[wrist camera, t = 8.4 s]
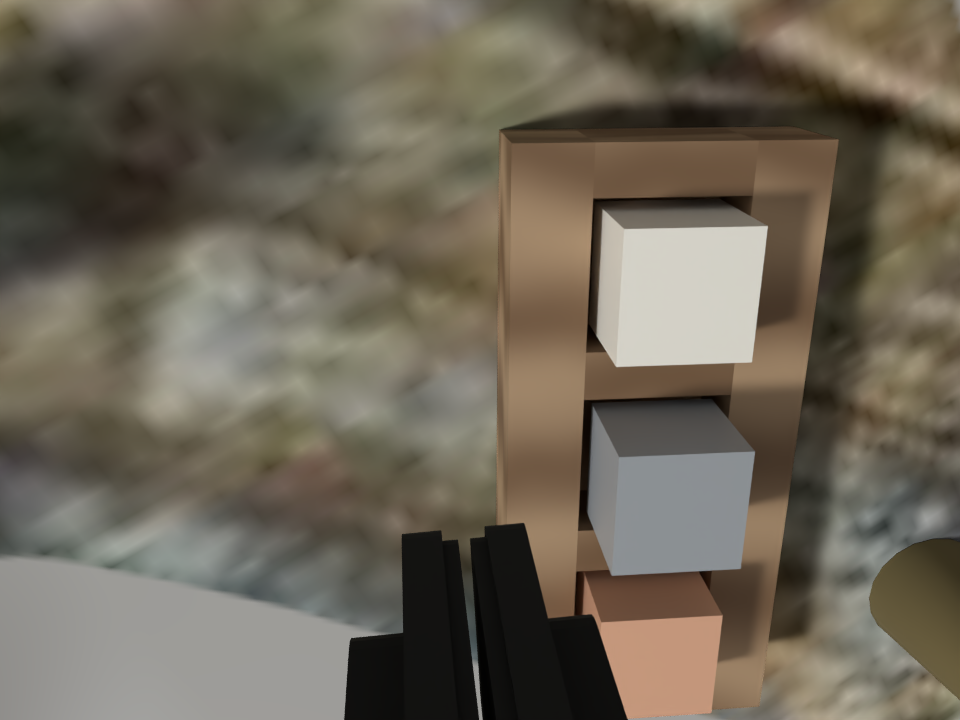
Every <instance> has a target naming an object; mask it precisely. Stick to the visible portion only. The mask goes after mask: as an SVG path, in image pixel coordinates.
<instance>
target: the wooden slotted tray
mask: <svg viewBox="0 0 960 720" xmlns="http://www.w3.org/2000/svg"><path fill="white" fill-rule="evenodd" d="M838 143H839V139H836V138H832V137H829V136H825V135H822V134H818V133H815V132H811V131H808V130H804V129H801V128H797V127H794V126H793V127H701V128H609V129H517V130H499V240H498V368H497V497H496V525H505V524H515V523H524V524H525V527H526V530H527V534H528V538H529V543H530V547H531V551H532V555H533V559H534V563H535V567H536V571H537V575H538V579H539V583H540V587H541V591H542V595H543V599H544V603H545V607H546V611H547V616H548V618H557V617H567V616H576V596H577V574H578V571H596V570H609V567H608V565H607V562H606V560H605V557H604V555H603V552H602V549H601V547H600V544H599V542H598V539H597V537H596V534H595V531H594V529H593V526H592V524H591V521H590V519H589V516H588V513H587V511H586V507H587V486H588V466H589V445H590V425H591V405H592V403H607V402H634V401H661V400H688V399H712V400H713V401H714V402H715V404H716V405H717V406H718V407H719V408H720V410H721V411H722V412H723V413H724V415H725V416H726V417H727V418H728V419H729V421H730V422H731V423H732V424H733V425H734V427H735V428H736V429H737V430H738V431H739V433H740V434H741V435H742V436H743V438H744V439H745V440H746V441H747V442H748V444H749V445H750V446H751V447H752V448H753V450H754V451H755V456H754V464H753V472H752V480H751V488H750V497H749V505H748V513H747V521H746V529H745V537H744V545H743V554H742V562H741V569H730V570H711V571H699V573H700V575H701V577H702V579H703V580H704V582H705V584H706V586H707V588H708V590H709V591H710V593H711V595H712V597H713V599H714V600H715V602H716V604H717V606H718V608H719V610H720V611H721V613H722V615H723V617H722V626H721V634H720V643H719V651H718V660H717V668H716V677H715V685H714V694H713V703H712V710H714V709H729V708H744V707H759V704H760V697H761V690H762V683H763V676H764V669H765V662H766V654H767V647H768V640H769V633H770V626H771V619H772V612H773V605H774V598H775V590H776V583H777V576H778V569H779V562H780V555H781V548H782V541H783V534H784V527H785V519H786V512H787V505H788V498H789V491H790V484H791V477H792V470H793V463H794V455H795V448H796V441H797V434H798V427H799V420H800V413H801V406H802V399H803V391H804V384H805V377H806V370H807V363H808V356H809V349H810V342H811V335H812V328H813V320H814V313H815V306H816V299H817V292H818V285H819V278H820V271H821V264H822V256H823V249H824V242H825V235H826V228H827V221H828V214H829V207H830V200H831V192H832V185H833V178H834V171H835V164H836V157H837V150H838ZM697 199H721V200H723V201H725V202H726V203H728V204H730V205H732V206H733V207H735V208H737V209H739V210H740V211H742V212H744V213H746V214H747V215H749V216H751V217H753V218H754V219H756V220H758V221H760V222H761V223H763V224H765V225H767V226H768V229H767V238H766V247H765V255H764V264H763V272H762V281H761V289H760V298H759V306H758V315H757V324H756V332H755V341H754V349H753V358H752V362H750V363H720V364H690V365H661V366H631V367H616V366H615V364H614V363H613V361H612V360H611V358H610V356H609V355H608V353H607V352H606V350H605V349H604V347H603V345H602V344H601V342H600V341H599V339H598V337H597V336H596V334H595V333H594V331H593V329H592V328H591V326H590V325H589V311H590V289H591V268H592V246H593V224H594V203H595V201H640V200H697Z"/></svg>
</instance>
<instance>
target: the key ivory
mask: <svg viewBox="0 0 960 720" xmlns="http://www.w3.org/2000/svg"><path fill="white" fill-rule="evenodd" d="M767 229H768V226H767V225H765V224H763V223H761V222H760V221H758V220H756V219H754V218H753V217H751V216H749V215H747V214H746V213H744V212H742V211H740V210H739V209H737V208H735V207H733V206H732V205H730V204H728V203H726V202H725V201H723V200H721V199H697V200H640V201H595V203H594V224H593V246H592V268H591V289H590V311H589V325H590V326H591V328H592V329H593V331H594V333H595V334H596V336H597V337H598V339H599V341H600V342H601V344H602V345H603V347H604V349H605V350H606V352H607V353H608V355H609V356H610V358H611V360H612V361H613V363H614V364H615V366H616V367H631V366H661V365H690V364H720V363H750V362H752V358H753V349H754V341H755V332H756V324H757V315H758V306H759V298H760V289H761V281H762V272H763V264H764V255H765V247H766V238H767Z"/></svg>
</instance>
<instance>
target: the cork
mask: <svg viewBox="0 0 960 720" xmlns="http://www.w3.org/2000/svg"><path fill="white" fill-rule="evenodd" d="M869 600H870V609H871V614H872V615H873V617H874V619H875V621H876V623H877V624H878V626H880V627H881V628H882V629H883V630H884V631H885V632H886V633H887V634H888V635H889V636H890V637H892V638H893V639H894V640H895V641H896V642H897V643H898V644H899V645H900V646H901V647H902V648H904V649H905V650H906V651H907V652H908V653H909V654H910V655H911V656H912V657H913V658H914V659H916V660H917V661H918V662H919V663H920V664H921V665H922V666H923V667H924V668H925V669H926V670H928V671H929V672H930V673H931V674H932V675H933V676H934V677H935V678H936V679H937V680H938V681H940V682H941V683H942V684H943V685H944V686H945V687H946V688H947V689H948V690H949V691H950V692H952V693H953V694H954V695H955V696H956V697H957V698H958V699H959V700H960V542H957V541H954V540H951V539H931V540H927V541H923V542H920V543H916V544H913V545H911V546H910V547H908V548H906V549H904V550H902V551H901V552H899V553H897V554H896V555H895V556H894V557H893V558H892V559H891V560H889V561H888V562H887V563H886V564H885V565H884V566H883V567H882V569H881V570H880V572H879V574H878V575H877V577H876V578H875V580H874V582H873V585H872V589H871V593H870V597H869Z"/></svg>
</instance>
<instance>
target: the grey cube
mask: <svg viewBox="0 0 960 720" xmlns="http://www.w3.org/2000/svg"><path fill="white" fill-rule="evenodd" d="M754 456H755V451H754V450H753V448H752V447H751V446H750V445H749V444H748V442H747V441H746V440H745V439H744V438H743V436H742V435H741V434H740V433H739V431H738V430H737V429H736V428H735V427H734V425H733V424H732V423H731V422H730V421H729V419H728V418H727V417H726V416H725V415H724V413H723V412H722V411H721V410H720V408H719V407H718V406H717V405H716V404H715V402H714V401H713V400H712V399H688V400H661V401H634V402H607V403H592V405H591V425H590V445H589V466H588V486H587V507H586V511H587V513H588V516H589V519H590V521H591V524H592V526H593V529H594V531H595V534H596V537H597V539H598V542H599V544H600V547H601V549H602V552H603V555H604V557H605V560H606V562H607V565H608V567H609V570H610V573H611V575H612V576H618V575H636V574H655V573H674V572H693V571H711V570H730V569H741V562H742V554H743V545H744V537H745V529H746V521H747V513H748V505H749V497H750V488H751V480H752V472H753V464H754Z"/></svg>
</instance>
